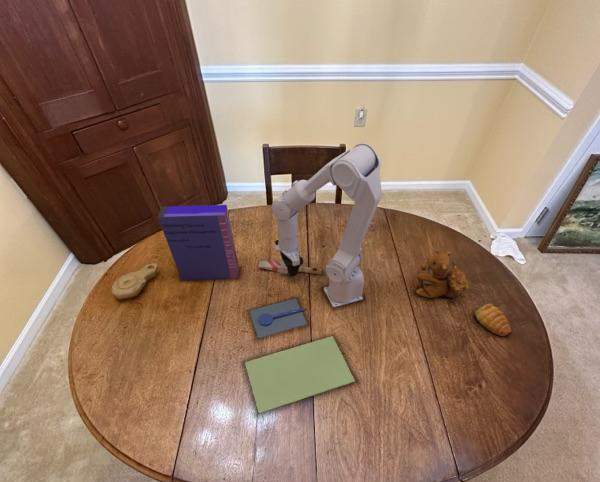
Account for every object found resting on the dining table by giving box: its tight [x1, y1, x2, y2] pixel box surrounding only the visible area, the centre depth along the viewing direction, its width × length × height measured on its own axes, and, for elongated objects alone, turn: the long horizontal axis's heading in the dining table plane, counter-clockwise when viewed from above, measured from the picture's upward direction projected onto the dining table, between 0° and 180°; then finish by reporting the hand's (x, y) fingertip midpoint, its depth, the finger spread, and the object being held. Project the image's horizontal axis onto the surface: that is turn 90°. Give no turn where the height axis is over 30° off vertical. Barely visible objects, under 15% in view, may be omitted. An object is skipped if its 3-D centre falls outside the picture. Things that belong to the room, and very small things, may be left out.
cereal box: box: [157, 204, 240, 281], centre depth 102 cm, size 17×5×24 cm, turn 92°
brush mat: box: [244, 335, 356, 415], centre depth 86 cm, size 24×14×1 cm, turn 109°
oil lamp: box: [111, 263, 159, 300], centre depth 105 cm, size 11×14×5 cm
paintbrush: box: [257, 259, 322, 275], centre depth 110 cm, size 4×3×20 cm
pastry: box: [474, 303, 512, 337], centre depth 94 cm, size 9×7×4 cm
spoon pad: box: [249, 298, 308, 339], centre depth 98 cm, size 14×10×1 cm
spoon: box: [258, 306, 306, 326], centre depth 98 cm, size 14×4×1 cm, turn 109°
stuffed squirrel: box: [415, 251, 470, 299], centre depth 100 cm, size 10×14×13 cm
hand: (289, 267), depth 110 cm, fingers open, 7 cm apart
